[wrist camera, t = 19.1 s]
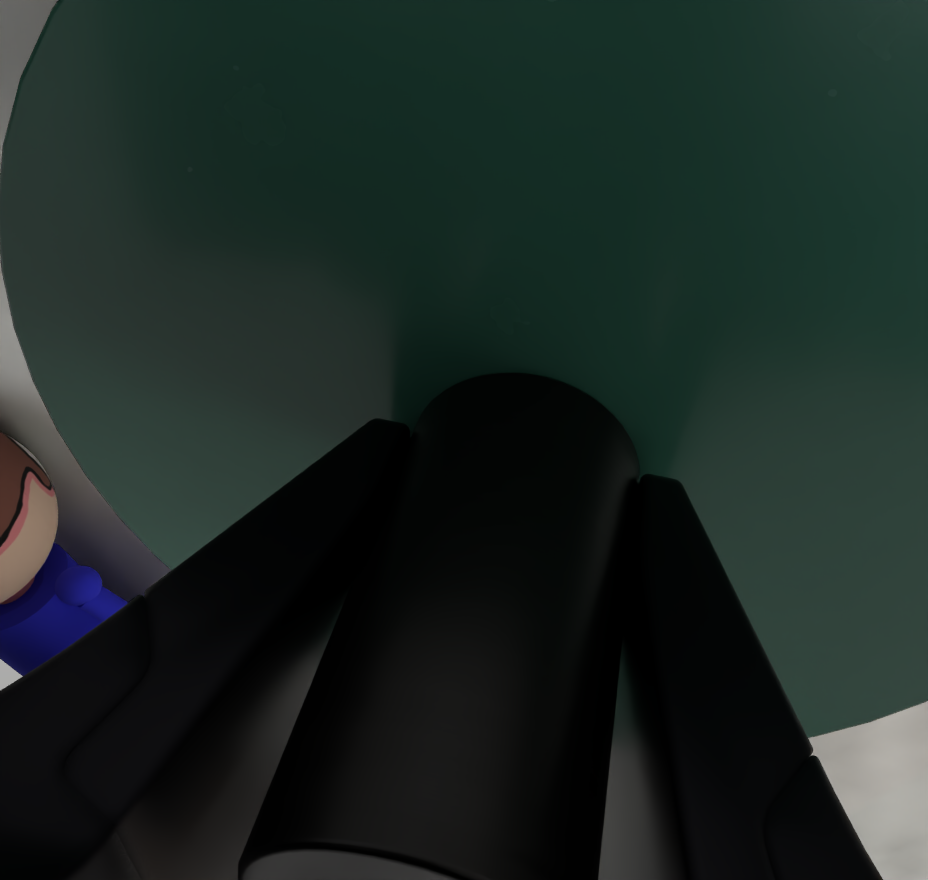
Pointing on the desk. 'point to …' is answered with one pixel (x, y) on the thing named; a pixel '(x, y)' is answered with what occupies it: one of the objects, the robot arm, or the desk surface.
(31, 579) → the figurine character
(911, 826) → the desk surface
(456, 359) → the pot lid
